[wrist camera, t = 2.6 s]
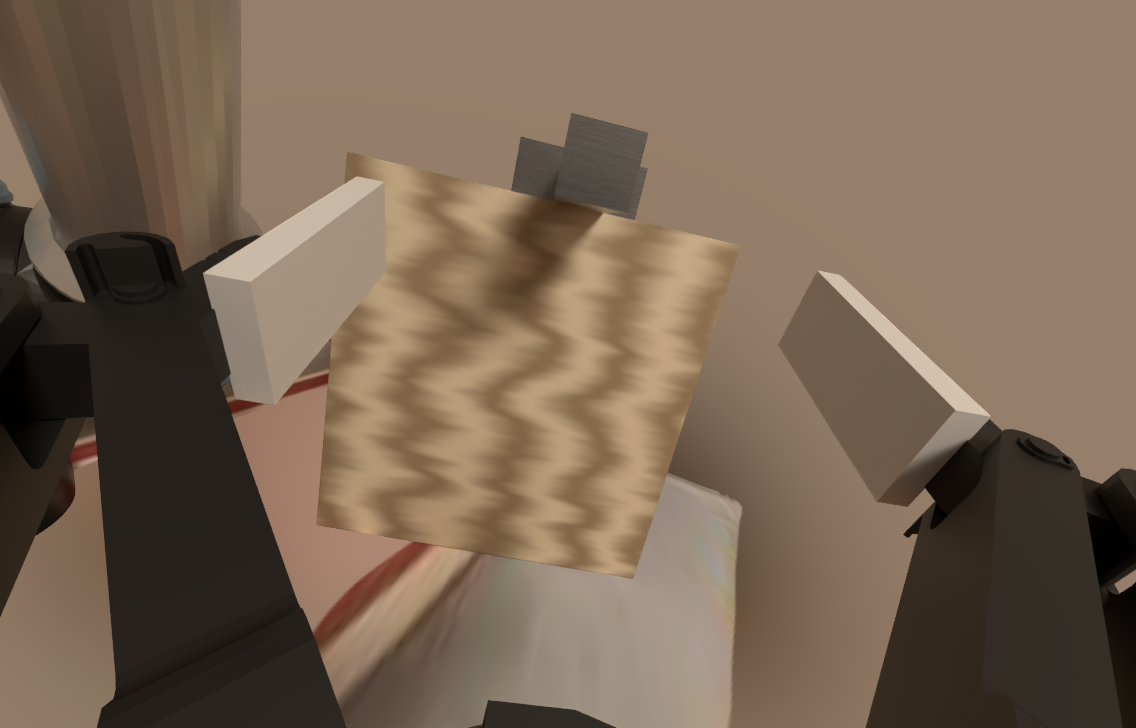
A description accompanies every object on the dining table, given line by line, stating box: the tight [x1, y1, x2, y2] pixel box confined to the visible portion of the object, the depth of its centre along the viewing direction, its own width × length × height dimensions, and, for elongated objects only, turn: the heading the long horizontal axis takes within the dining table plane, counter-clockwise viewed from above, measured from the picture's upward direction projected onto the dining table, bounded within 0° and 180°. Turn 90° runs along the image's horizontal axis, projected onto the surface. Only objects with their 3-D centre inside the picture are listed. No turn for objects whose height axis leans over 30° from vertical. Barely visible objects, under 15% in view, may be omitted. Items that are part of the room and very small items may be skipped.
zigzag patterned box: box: [317, 152, 740, 578], centre depth 47 cm, size 28×20×30 cm
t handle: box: [511, 113, 648, 220], centre depth 35 cm, size 12×30×5 cm, turn 2°
